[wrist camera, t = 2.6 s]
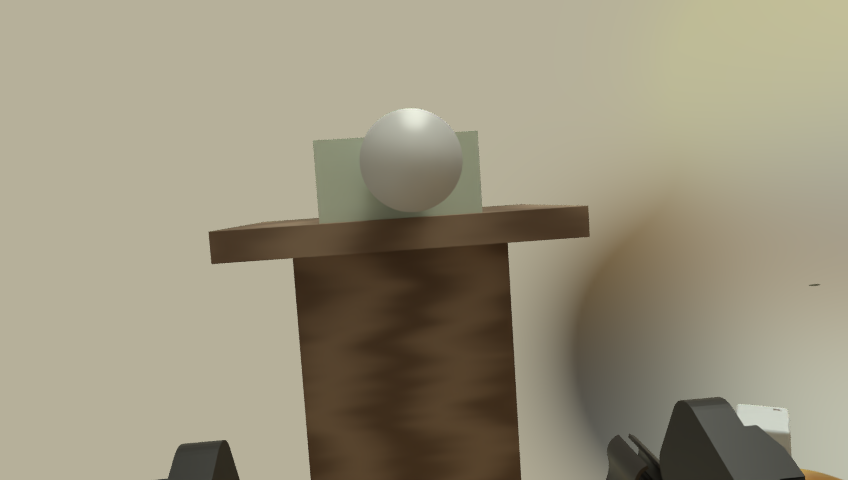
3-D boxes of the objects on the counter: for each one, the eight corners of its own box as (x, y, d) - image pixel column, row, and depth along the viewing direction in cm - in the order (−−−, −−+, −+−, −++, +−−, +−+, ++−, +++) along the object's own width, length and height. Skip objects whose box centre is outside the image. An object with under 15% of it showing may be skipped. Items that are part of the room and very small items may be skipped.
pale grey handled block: (460, 210, 38) (456, 145, 38) (550, 219, 18) (543, 83, 18) (332, 218, 37) (327, 153, 37) (277, 238, 17) (266, 98, 17)
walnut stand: (544, 631, 45) (521, 204, 43) (617, 821, 31) (588, 205, 29) (302, 659, 44) (265, 221, 42) (266, 870, 30) (208, 231, 28)
